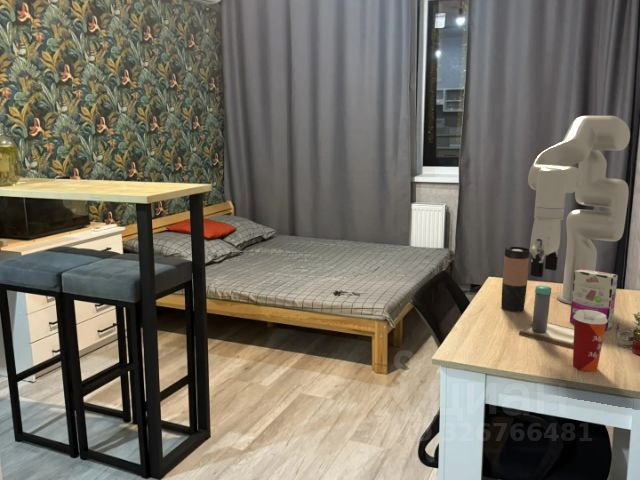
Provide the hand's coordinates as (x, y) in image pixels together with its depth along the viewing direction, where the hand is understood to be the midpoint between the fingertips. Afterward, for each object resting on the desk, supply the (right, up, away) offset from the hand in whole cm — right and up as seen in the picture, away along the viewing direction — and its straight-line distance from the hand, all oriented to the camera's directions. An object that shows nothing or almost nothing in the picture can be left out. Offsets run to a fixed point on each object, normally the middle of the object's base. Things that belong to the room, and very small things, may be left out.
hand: (543, 272), depth 164 cm
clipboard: (+5, -18, +3) cm, 19 cm away
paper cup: (+3, -23, -19) cm, 30 cm away
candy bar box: (+19, -17, +12) cm, 28 cm away
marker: (0, -17, +3) cm, 17 cm away
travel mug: (0, -13, +27) cm, 30 cm away
